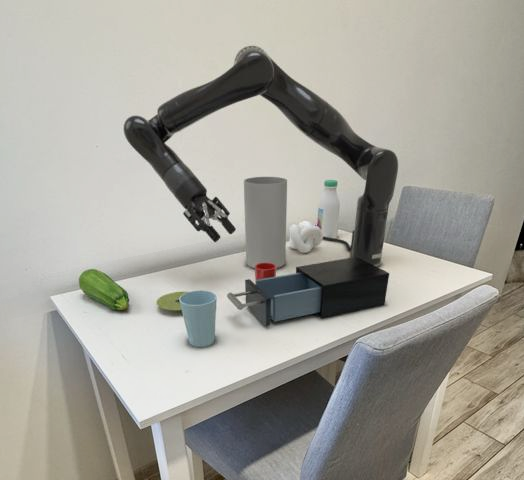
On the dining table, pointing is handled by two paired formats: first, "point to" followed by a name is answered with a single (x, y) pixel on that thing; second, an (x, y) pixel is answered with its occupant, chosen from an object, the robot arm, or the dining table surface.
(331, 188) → the milk bottle
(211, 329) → the cup
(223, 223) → the robot arm
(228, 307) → the dining table surface
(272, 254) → the cylinder vase
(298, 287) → the dish drawer
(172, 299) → the mat
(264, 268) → the red tumbler
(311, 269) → the black drawer casing
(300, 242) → the white knot sculpture
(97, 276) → the vegetable
